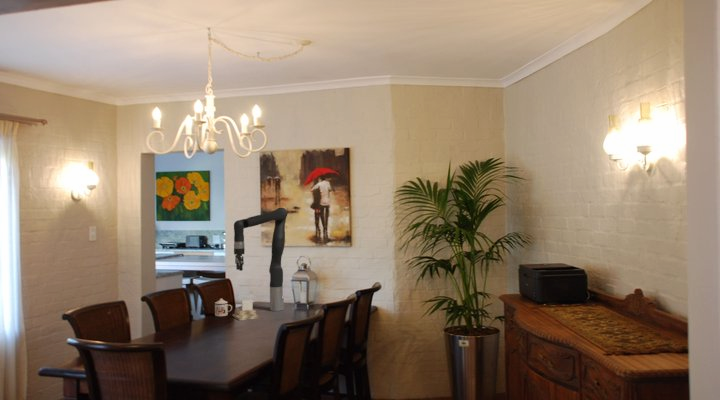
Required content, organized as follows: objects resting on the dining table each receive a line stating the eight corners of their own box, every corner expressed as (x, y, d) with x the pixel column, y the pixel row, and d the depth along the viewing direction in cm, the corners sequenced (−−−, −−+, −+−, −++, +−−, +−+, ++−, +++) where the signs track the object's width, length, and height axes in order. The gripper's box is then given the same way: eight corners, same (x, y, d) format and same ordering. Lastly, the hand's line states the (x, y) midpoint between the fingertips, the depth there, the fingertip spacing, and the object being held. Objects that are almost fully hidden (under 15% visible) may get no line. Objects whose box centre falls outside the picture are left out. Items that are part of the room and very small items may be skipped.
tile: (251, 314, 388) (251, 299, 389) (252, 314, 386) (252, 300, 386) (241, 315, 385) (241, 300, 386) (242, 315, 383) (242, 301, 383)
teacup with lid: (213, 316, 389) (213, 299, 390) (216, 314, 398) (215, 297, 399) (231, 316, 390) (230, 299, 390) (233, 313, 399) (232, 297, 400)
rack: (252, 314, 396) (252, 307, 396) (259, 318, 381) (259, 310, 381) (232, 316, 390) (232, 309, 390) (239, 320, 375) (238, 312, 375)
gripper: (246, 248, 404) (247, 270, 404) (241, 247, 417) (242, 268, 416) (236, 248, 401) (236, 271, 400) (231, 247, 413) (231, 269, 413)
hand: (239, 270), depth 408 cm, fingers open, 8 cm apart
